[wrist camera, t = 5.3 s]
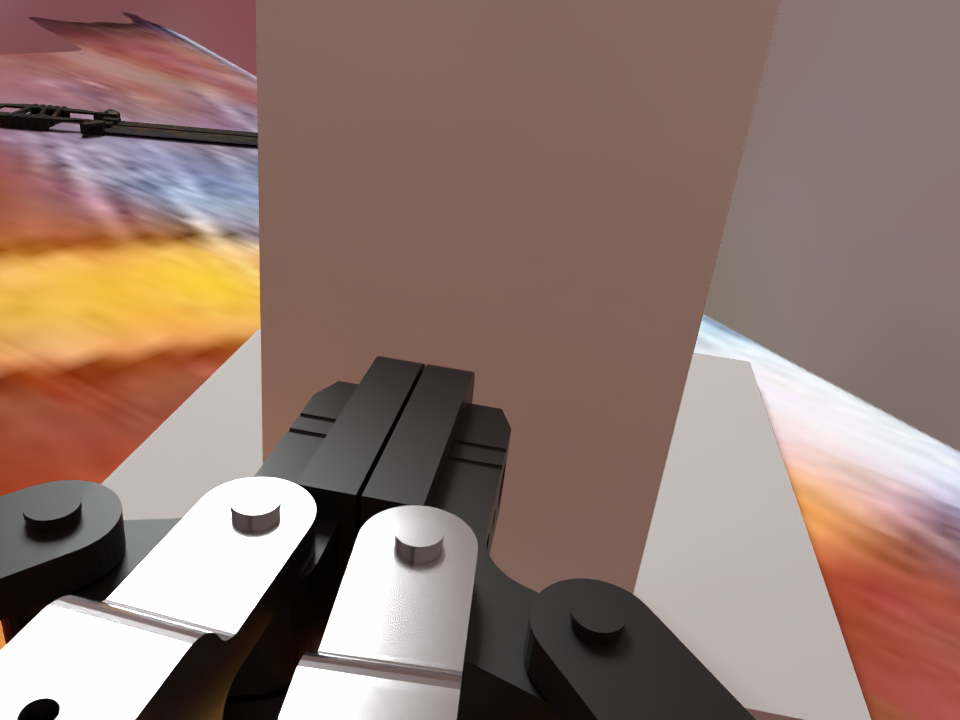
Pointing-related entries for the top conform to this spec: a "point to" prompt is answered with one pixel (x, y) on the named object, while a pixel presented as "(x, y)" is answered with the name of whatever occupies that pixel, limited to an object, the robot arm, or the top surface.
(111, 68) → the top surface
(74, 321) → the top surface
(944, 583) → the top surface
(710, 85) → the tile
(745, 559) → the mat
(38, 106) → the knife
